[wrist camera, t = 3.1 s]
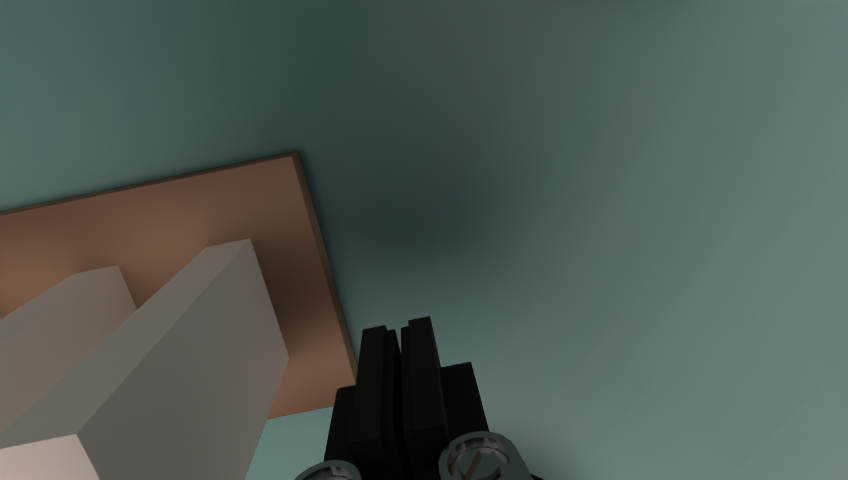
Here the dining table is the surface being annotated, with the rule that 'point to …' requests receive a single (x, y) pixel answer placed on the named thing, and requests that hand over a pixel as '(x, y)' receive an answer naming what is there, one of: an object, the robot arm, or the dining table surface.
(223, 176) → the brown flat slab
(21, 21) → the dining table surface
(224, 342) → the tile
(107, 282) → the tile
